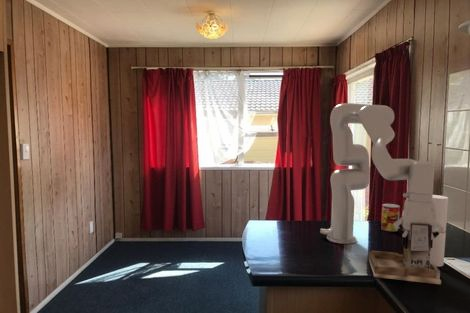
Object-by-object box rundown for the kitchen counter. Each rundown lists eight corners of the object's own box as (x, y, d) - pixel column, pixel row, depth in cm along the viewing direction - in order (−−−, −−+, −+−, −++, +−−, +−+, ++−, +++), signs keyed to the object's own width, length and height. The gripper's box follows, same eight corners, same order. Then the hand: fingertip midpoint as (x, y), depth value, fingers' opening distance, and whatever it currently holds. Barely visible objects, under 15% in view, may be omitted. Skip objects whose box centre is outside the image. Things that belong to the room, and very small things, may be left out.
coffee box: (429, 273, 117) (433, 225, 116) (408, 271, 119) (411, 224, 117) (421, 263, 126) (424, 218, 125) (401, 261, 128) (404, 217, 126)
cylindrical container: (443, 268, 127) (448, 199, 125) (420, 263, 131) (425, 197, 129) (443, 261, 133) (448, 196, 131) (422, 257, 137) (426, 194, 135)
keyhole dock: (374, 276, 118) (375, 266, 118) (368, 259, 134) (369, 250, 134) (440, 284, 114) (441, 273, 113) (427, 265, 129) (427, 255, 129)
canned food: (379, 226, 180) (380, 203, 179) (395, 227, 179) (396, 204, 178) (383, 231, 172) (384, 206, 171) (400, 231, 171) (402, 207, 170)
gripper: (394, 197, 119) (391, 249, 121) (452, 201, 115) (448, 255, 116) (390, 193, 126) (387, 242, 128) (444, 197, 122) (441, 247, 124)
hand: (416, 248), depth 122 cm, fingers closed on coffee box, 6 cm apart
